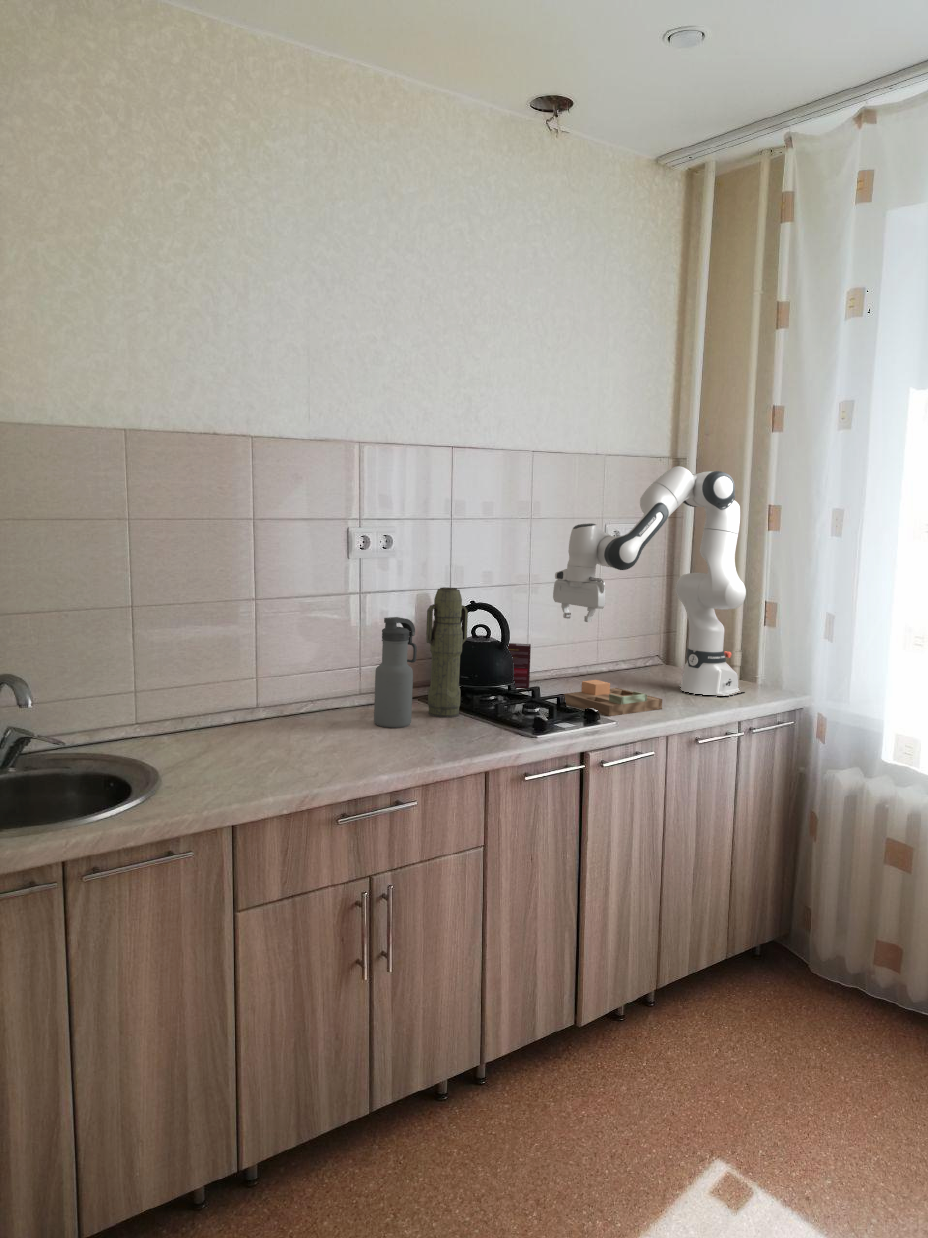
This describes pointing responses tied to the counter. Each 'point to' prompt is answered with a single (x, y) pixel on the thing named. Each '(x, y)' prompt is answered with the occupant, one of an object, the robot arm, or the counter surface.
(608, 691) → the block
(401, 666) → the water bottle
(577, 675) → the counter surface
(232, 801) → the counter surface
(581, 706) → the board
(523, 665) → the supplement box
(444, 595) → the thermos
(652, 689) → the counter surface
